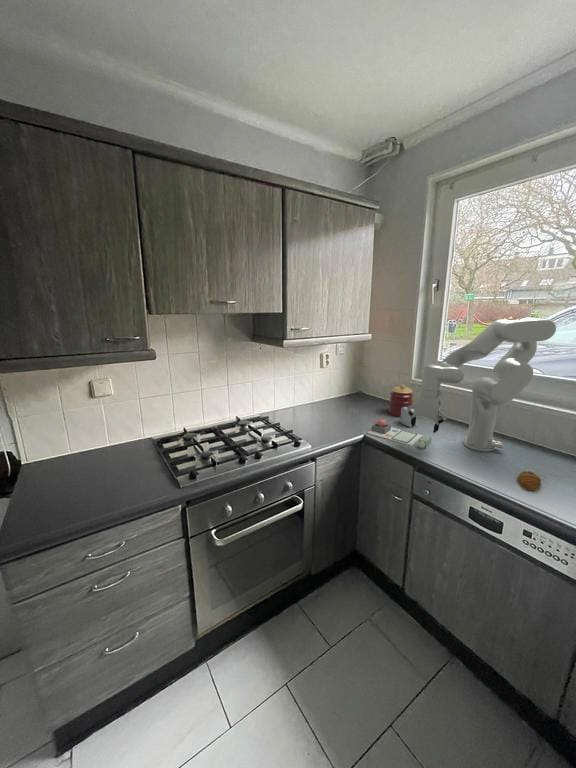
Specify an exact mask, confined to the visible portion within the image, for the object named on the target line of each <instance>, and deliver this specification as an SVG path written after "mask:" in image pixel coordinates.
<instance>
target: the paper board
mask: <svg viewBox="0 0 576 768" xmlns="http://www.w3.org/2000/svg"><path fill="white" fill-rule="evenodd" d="M367 433H368V434H367V435H370V436H374V437H378V438H381V439H386V440H387V441H388V440H389V441H392V442H396V443H399V444H402V445H407V446H410V447H413V445H414V444H416V442H419V439H420V438H421V437H422V436H423V435H422V434H418V433H414V432H411V431H407V430H403V429H399V428H395V427H392V424H389V423H386V427H385V428H383V427H379V426H377V422H375V423H373V424H372V425H371V430H369V431H367Z"/></svg>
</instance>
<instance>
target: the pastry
mask: <svg viewBox="0 0 576 768" xmlns="http://www.w3.org/2000/svg"><path fill="white" fill-rule="evenodd" d="M516 479H517V482H518V483H519V485H520V486H521V488H523V489H524V490H526V491H527V490H528V491H532V492H536V491H537V490H538V489H540V488H541V486H542V480H541V478H540V477H539V476H538V475H537V474H536V473H535V472H533V471H530V470H527V471H522V472H520V473H519V474H518V475H517V478H516Z"/></svg>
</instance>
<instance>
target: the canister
mask: <svg viewBox="0 0 576 768" xmlns="http://www.w3.org/2000/svg"><path fill="white" fill-rule="evenodd" d="M389 394H390V397H389V406H388V412H389V414H390V415H392V416H395V417H400V418H401V408H403V407H409V406H413V405H414V399H413V397H414V396H415V395H414V393H413V389H411V388H410V387H407V386H406V385H405V384H403V383H402V384H400V386H395V387H393V388H392V389H391V392H389Z"/></svg>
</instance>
